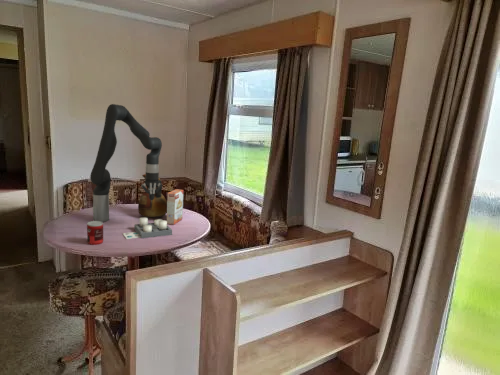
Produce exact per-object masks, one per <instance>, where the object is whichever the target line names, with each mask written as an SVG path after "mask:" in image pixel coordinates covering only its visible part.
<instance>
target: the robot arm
mask: <svg viewBox="0 0 500 375" xmlns="http://www.w3.org/2000/svg"><path fill="white" fill-rule="evenodd" d="M117 121H119V122H123V123H125V124H126V125H127V126H128V127H129V130H130V132H131V133H132V134H133V135H134V136H135V137H136V139H138V140H139V141H140V143H141V144H142V146H143V148H145V149H147V150H150V152H149V153H147V154H146V158H145V159H146V160H145V161H146V162H145V174H146V177H145V178H144V183H142V184H141V185H140V187H141V188H142V189H143V190H144V192H145V191H146V192H147V193H149V199H150V200H153V199H154V194H155V193H157V192H158V191H159V190H160V189H161V187H162V188H163V183H162V184H160V183H159V178H160V177H159V176H160V166H159V162H160V161H159V159H160V155H161V151H162V146H163V145H162V140H161V139H160V138H159V137H158V136H157V137H156V136H153V137H152V136H151V137H150V132H149V131H148V130H147V129H146V128H145V127H143V125H142V124H141V123H140V122H139V121H137V119H135V117H134V116H133V115H132V113H130V111H129V110H128V109H127V108H126V106H125V105H121V104H115V103H111V104H110V105H108V106H107V109H106V112H105V119H104V124H103V130H102V134H101V139H100V141H99V146H98V150H97V154H96V158H95V162H94V164H93V167H92V170H91V172H90V176H89V179H90V181H91V183H92V184H93V185H96V186H95V187H94V189H93V191H92V195H93V196H92V198H93V203H92V218H93V219H92V220H93V221H101V222H108V221H109V220H110V190H111V174H110V171H109V170H108V169H107V168H106V167H107V166H108V163H109V161H110V160H111V158H112V157H113V155H114V154H115V151H116V148H117V144H118V139H117V135H116V132H115V131H116V130H115V129H116V122H117ZM157 185H158V187H157ZM147 187H148V189H149V191H148V190H147ZM156 187H157V188H156ZM155 188H156V189H155Z"/></svg>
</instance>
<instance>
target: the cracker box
mask: <svg viewBox="0 0 500 375" xmlns="http://www.w3.org/2000/svg"><path fill="white" fill-rule="evenodd" d="M166 201H167V213H166V221H167V225H173V226H174V225H176V224H178V223H179V222H180V221H182V220H183V208H184V189H178V188H176V189H173V190H172V191H169V192H167V199H166Z"/></svg>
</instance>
